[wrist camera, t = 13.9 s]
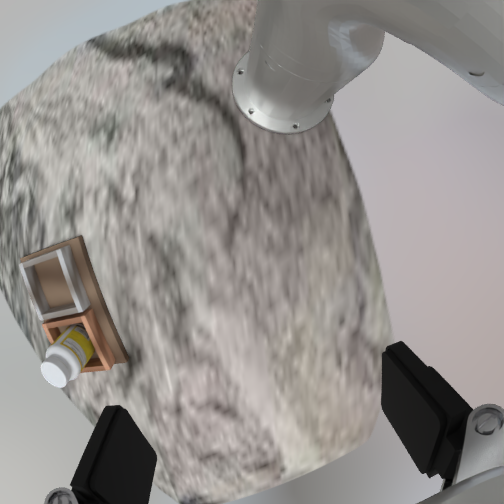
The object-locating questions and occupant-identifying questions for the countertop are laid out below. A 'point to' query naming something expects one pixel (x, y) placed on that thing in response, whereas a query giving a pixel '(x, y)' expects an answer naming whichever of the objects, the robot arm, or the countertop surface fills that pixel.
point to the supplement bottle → (67, 355)
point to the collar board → (72, 299)
